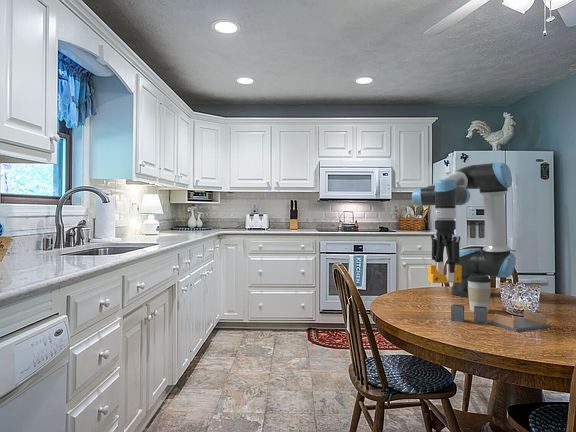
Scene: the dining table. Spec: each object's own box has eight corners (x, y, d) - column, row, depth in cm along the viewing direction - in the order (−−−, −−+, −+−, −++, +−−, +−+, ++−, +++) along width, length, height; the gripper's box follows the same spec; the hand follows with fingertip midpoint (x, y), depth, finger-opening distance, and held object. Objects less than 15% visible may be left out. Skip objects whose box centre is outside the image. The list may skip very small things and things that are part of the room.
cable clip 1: (451, 320, 146) (451, 305, 146) (452, 318, 148) (452, 304, 148) (462, 322, 143) (462, 307, 143) (464, 320, 146) (464, 305, 146)
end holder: (523, 320, 147) (523, 309, 147) (549, 327, 137) (549, 315, 137) (491, 324, 141) (491, 313, 141) (516, 331, 132) (516, 319, 132)
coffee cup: (490, 314, 155) (490, 277, 155) (465, 311, 160) (465, 275, 160) (492, 310, 163) (492, 274, 163) (468, 307, 167) (468, 272, 167)
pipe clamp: (432, 282, 146) (433, 265, 146) (428, 280, 151) (428, 264, 151) (463, 283, 147) (463, 266, 147) (458, 281, 151) (458, 264, 151)
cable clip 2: (475, 322, 142) (475, 307, 142) (474, 320, 145) (474, 305, 145) (487, 324, 141) (487, 308, 141) (485, 321, 144) (486, 306, 144)
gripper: (421, 219, 156) (421, 277, 156) (454, 219, 139) (454, 284, 139) (437, 219, 159) (437, 276, 159) (470, 219, 142) (470, 283, 142)
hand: (445, 279), depth 149 cm, fingers closed on pipe clamp, 5 cm apart
